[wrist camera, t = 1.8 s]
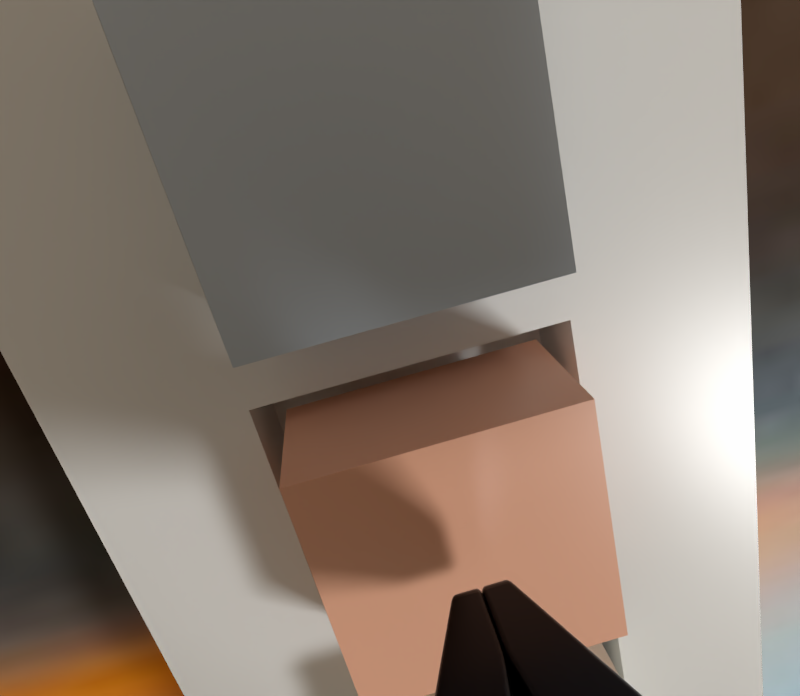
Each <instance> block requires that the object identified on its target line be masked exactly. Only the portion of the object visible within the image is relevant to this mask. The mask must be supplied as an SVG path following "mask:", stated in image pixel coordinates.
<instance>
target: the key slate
mask: <svg viewBox="0 0 800 696" xmlns="http://www.w3.org/2000/svg"><path fill="white" fill-rule="evenodd" d="M92 1H93V3H94V6H95V9H96V11H97V14H98V16H99V19H100V22H101V24H102V27H103V30H104V32H105V35H106V37H107V40H108V43H109V45H110V48H111V50H112V53H113V56H114V58H115V61H116V63H117V66H118V69H119V71H120V74H121V77H122V79H123V82H124V84H125V87H126V90H127V92H128V95H129V97H130V100H131V103H132V105H133V108H134V111H135V113H136V116H137V118H138V121H139V124H140V126H141V129H142V131H143V134H144V137H145V139H146V142H147V145H148V147H149V150H150V152H151V155H152V158H153V160H154V163H155V165H156V168H157V171H158V173H159V176H160V179H161V181H162V184H163V186H164V189H165V192H166V194H167V197H168V199H169V202H170V205H171V207H172V210H173V212H174V215H175V218H176V220H177V223H178V226H179V228H180V231H181V233H182V236H183V239H184V241H185V244H186V246H187V249H188V252H189V254H190V257H191V260H192V262H193V265H194V267H195V270H196V273H197V275H198V278H199V280H200V283H201V286H202V288H203V291H204V294H205V296H206V299H207V301H208V304H209V307H210V309H211V312H212V314H213V317H214V320H215V322H216V325H217V328H218V330H219V333H220V335H221V338H222V341H223V343H224V346H225V348H226V351H227V354H228V356H229V359H230V361H231V364H232V367H233V368H235V367H239V366H242V365H246V364H250V363H253V362H257V361H260V360H264V359H267V358H271V357H275V356H278V355H282V354H285V353H289V352H293V351H296V350H300V349H303V348H307V347H311V346H314V345H318V344H321V343H325V342H329V341H332V340H336V339H339V338H343V337H346V336H350V335H354V334H357V333H361V332H364V331H368V330H372V329H375V328H379V327H382V326H386V325H390V324H393V323H397V322H400V321H404V320H408V319H411V318H415V317H418V316H422V315H426V314H429V313H433V312H436V311H440V310H443V309H447V308H451V307H454V306H458V305H461V304H465V303H469V302H472V301H476V300H479V299H483V298H487V297H490V296H494V295H497V294H501V293H505V292H508V291H512V290H515V289H519V288H523V287H526V286H530V285H533V284H537V283H540V282H544V281H548V280H551V279H555V278H558V277H562V276H566V275H569V274H573V273H576V265H575V258H574V251H573V244H572V237H571V230H570V223H569V216H568V209H567V202H566V195H565V188H564V181H563V174H562V167H561V159H560V152H559V145H558V138H557V131H556V124H555V117H554V110H553V103H552V96H551V89H550V82H549V75H548V68H547V61H546V54H545V47H544V40H543V32H542V25H541V18H540V11H539V4H538V0H92Z"/></svg>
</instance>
